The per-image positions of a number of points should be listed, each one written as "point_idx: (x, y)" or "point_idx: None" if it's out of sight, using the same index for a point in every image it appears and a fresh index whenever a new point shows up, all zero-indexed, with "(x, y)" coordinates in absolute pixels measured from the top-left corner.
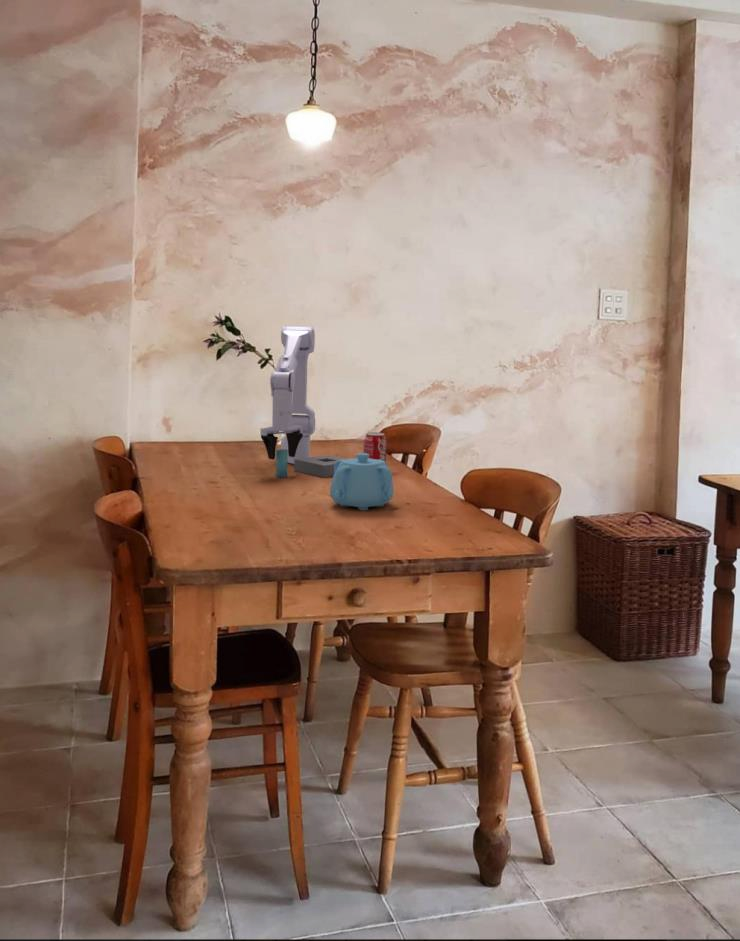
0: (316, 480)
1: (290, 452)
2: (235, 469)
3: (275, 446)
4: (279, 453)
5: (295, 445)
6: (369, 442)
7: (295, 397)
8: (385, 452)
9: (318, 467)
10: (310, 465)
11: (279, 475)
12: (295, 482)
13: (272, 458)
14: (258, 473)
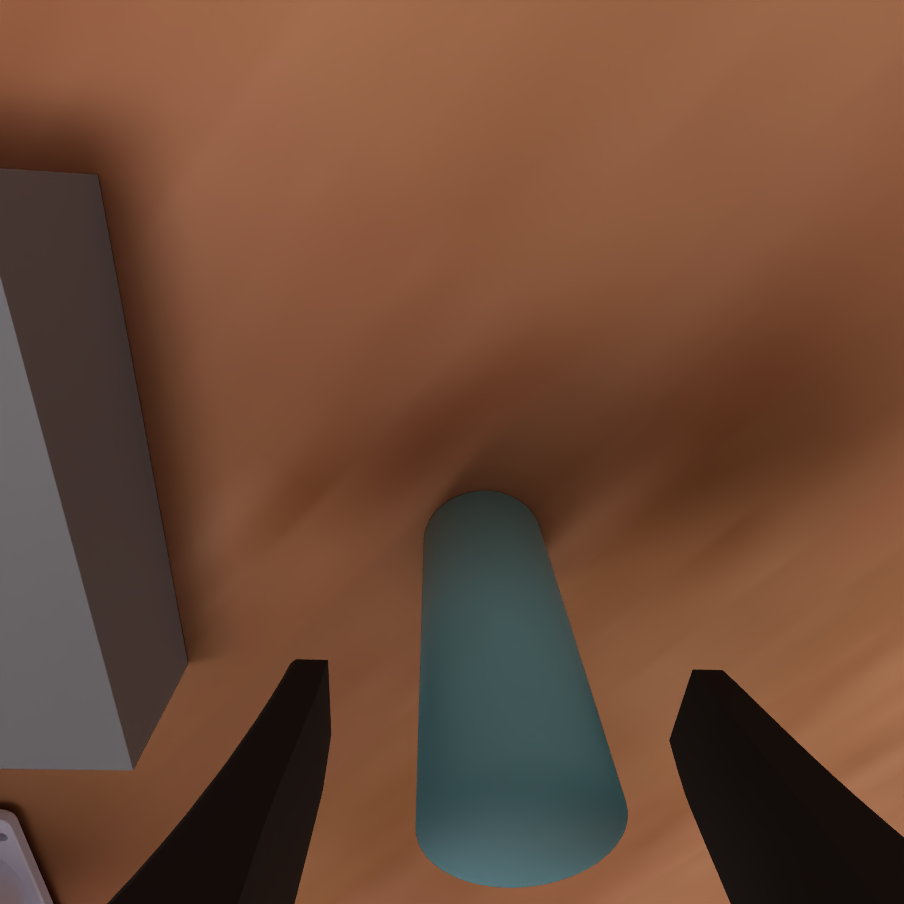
0: (324, 78)
1: (318, 765)
2: (543, 889)
3: (864, 869)
4: (607, 748)
5: (249, 838)
6: None
7: None
8: None
9: (51, 326)
10: (89, 498)
11: (540, 530)
12: (644, 172)
13: (732, 687)
14: None
